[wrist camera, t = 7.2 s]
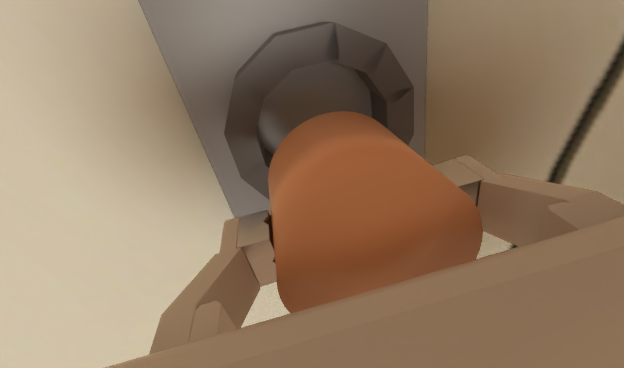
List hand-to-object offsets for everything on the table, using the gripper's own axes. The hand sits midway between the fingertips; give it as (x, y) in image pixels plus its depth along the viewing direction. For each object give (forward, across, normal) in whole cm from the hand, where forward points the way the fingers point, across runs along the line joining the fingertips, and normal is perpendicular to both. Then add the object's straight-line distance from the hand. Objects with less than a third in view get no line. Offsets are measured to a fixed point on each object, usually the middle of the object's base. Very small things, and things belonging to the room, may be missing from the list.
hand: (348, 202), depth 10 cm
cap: (+2, 0, 0) cm, 2 cm away
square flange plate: (+10, 0, 0) cm, 10 cm away
